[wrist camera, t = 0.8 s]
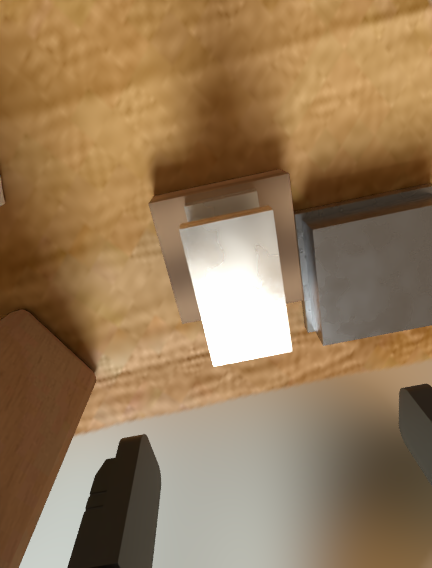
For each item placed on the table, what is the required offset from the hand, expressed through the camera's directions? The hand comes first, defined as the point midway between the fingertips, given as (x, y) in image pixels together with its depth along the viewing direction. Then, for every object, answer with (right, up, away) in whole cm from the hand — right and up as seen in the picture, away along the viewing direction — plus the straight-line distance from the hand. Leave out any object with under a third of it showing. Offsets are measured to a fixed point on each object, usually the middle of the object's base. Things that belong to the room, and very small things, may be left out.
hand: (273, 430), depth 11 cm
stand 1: (-1, +8, +18) cm, 20 cm away
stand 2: (+11, +7, +19) cm, 23 cm away
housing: (-1, +7, +15) cm, 17 cm away
